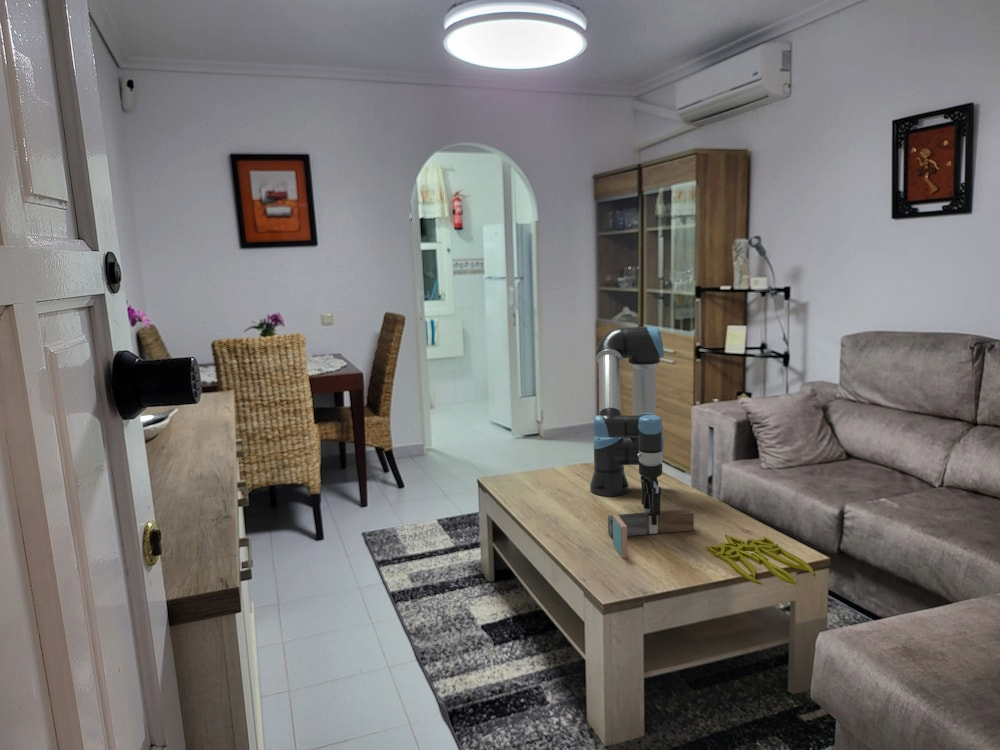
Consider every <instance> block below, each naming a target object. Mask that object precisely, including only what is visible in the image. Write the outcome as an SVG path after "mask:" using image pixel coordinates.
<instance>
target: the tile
mask: <svg viewBox="0 0 1000 750" xmlns="http://www.w3.org/2000/svg"><path fill="white" fill-rule="evenodd" d="M612 515H613V537H612V539H613V542H612V543H613V544H612V545H613V546H614V548H615V549H616V551H617V553H618V554H619V556H620V557H621V558H622V559H624V558H628V536H627V526H626V525H625V523H624V522H623V521H622V519H621V518H620V517H619V516H618V515H619V514H612Z"/></svg>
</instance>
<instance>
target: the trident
mask: <svg viewBox="0 0 1000 750" xmlns="http://www.w3.org/2000/svg"><path fill="white" fill-rule="evenodd" d="M724 538H725V539H726V541H727V542H728V543H727V542H721V543H720V545H708V544H706V545H705V549H706V551H708V552H709V553H710V554H712V555H713V557H714V558H716V557H717V558H718V559H719V560H721V561H722V562H724V563H726V564H727V565H728V564H729V565H730V566H731V567H732V568H733V569H734V572H736V573H737V574H738V575H740V576H741V577H743V578H744V579H746V580H748V581H751V582H753V583H754V584H755V583H756V584H760V585H763V582H762V581H760V580H758V579H756V572H757V571H756V569H755V566H753V564H752V563H751V562H750V561H749V560H750V559H751V561H752V562H755V563H756V564H758V565H760V564H761V565H762V566H763V565H764V566H763V567H765V568H766V569H767V570H768V571H769V572H770V573H771V574H772V575H773V576H775V577H777V578H778V579H779V580H781V581H784V582H786V583H788V584H790V585H794V586H797V581H796V579H795V578H794V577H793V576H792V575H791V574H790V573H789V571H786V570H785V569H783V568H782V567H780V566H778V565H776V564H774V563H773V562H771V561H769V560H770V559H772V560H773V561H776V562H778V563H780V564H782V565H785V566H787V567H789V568H793V569H797V570H800V571H805V572H809V573H811V575H813V576H814V574H815V572H814V569H813V568H812V567H811V565H810V564H808V563H807V562H806V561H804V560H803V559H802V558H801V557H799V556H797V555H795V554H793V553H791V552H788V551H787V550H785V549H784V548H782V547H781V546H779V543H775V542H774V541H773V540H772V539H770V538H768V537H766V536H763V538H760V539H753V538H748V539H746V541H745V540H743V539H741V538H738V537H735V536H731V535H729V534H727V533H725V534H724ZM748 551H750V552H751V551H752V552H751V553H749V552H748ZM753 551H754V553H753ZM780 554H781V555H782V556H781V555H780ZM768 557H769V558H770V559H769V558H768ZM784 557H785V558H784ZM739 559H740V560H739ZM733 560H736V561H739V563H741V565H743V566H744V567H745V568H746V569H747V570H748V571H749V572H750V574H751V575H750V574H749V573H747V572H746V571H745V570H744V569H743V568H742V567H740V565H739V564H737V563H736V561H733ZM729 565H728V566H729ZM730 566H729V567H730ZM731 567H730V568H731ZM732 568H731V569H732ZM733 569H732V570H733Z"/></svg>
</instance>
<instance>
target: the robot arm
mask: <svg viewBox="0 0 1000 750" xmlns="http://www.w3.org/2000/svg"><path fill="white" fill-rule="evenodd" d="M664 353H665V351H664V342H663V337H662V332H661V330H660V328H659V327H657V326H633V327H632V326H631V327H629V326H627V327H616V328H614V329H611V330H610V331H608V332H607V333H606V334H604V336H603V337H602V338H601V340H600V341H599V343H598V346H597V347H596V352H595V360H596V362H597V364H598V373H599V374H598V399H599V400H598V403H599V405H598V407H599V408H598V409H599V411H598V412H599V415H595V416H594V417H593V435H594V438H593V446H592V447H593V463H594V465H593V467H594V469H593V470H594V471H593V475H592V478H591V481H590V484H589V489H590V492H591V493H592V494H593V495H594V494H595V495H597V496H601V497H602V496H603V497H617V496H622V495H625V494H627V493H629V491H630V490H629V489H630V486H629V481H628V479H627V476H626V473H625V466H638V474H639V475H640V483H641V486H640V487H641V505H642V506H643V511H644V512H650V514H648V516H649V534H648V535H652V534H653V535H655V533H656V534H659V533H658V516H657V515H660V511H661V493H662V487H661V486H659V481H658V478H659V477H661V476H662V475H663V464H662V463H663V455H664V443H665V440H664V439H665V438H664V436H663V429H664V428H663V420H662V416H661V417H660V416H658V415H657V395H656V394H657V391H656V390H657V372H656V371H657V369H656V368H657V366H658V365H659V364H660V362H661V359H662V358H664V357H665V354H664ZM623 359H628V364H629V365H630V366H631V367H632V415H622V405H621V404H622V403H621V401H622V398H621V370H620V369H621V366H620V364H621V362H622V360H623ZM644 512H643V513H644Z"/></svg>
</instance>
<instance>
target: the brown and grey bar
mask: <svg viewBox="0 0 1000 750" xmlns="http://www.w3.org/2000/svg"><path fill="white" fill-rule="evenodd" d="M648 514H650V512H634V513H623V514H617V515H618V516H619V517H620V518H621V519H622V521H623V522H624V523H625V525H626V526H627V537H631V536H643V535H650V534H649V516H648ZM613 515H614V514H610V515H607V532H608V534H609V536H610V537H611V538H613ZM657 516H658V533H655V534H663V533H664V534H665V533H667V534H668V533H676V532H677V533H678V532H688V531H694V530H695V526H694V525H695V524H694V523H695V522H694V521H695V519H694V518H695V517H694V516H695V513H694V512H693V511H692V510H691V509H690V508H681V509H671V510H660V515H657ZM655 534H654V535H655Z"/></svg>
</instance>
